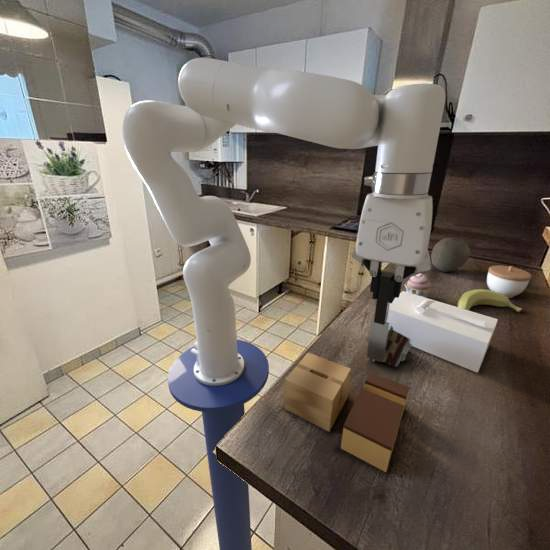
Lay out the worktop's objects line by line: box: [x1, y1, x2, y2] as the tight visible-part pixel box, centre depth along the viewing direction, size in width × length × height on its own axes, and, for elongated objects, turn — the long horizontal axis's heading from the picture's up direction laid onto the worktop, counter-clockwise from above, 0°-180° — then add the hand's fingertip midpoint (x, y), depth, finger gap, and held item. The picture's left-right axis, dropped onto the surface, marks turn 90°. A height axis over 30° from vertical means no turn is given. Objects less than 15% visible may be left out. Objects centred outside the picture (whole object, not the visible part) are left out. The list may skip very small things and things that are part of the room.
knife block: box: [284, 352, 352, 432], centre depth 60 cm, size 10×10×8 cm
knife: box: [366, 270, 395, 363], centre depth 51 cm, size 3×2×18 cm
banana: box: [457, 288, 523, 314], centre depth 98 cm, size 14×6×20 cm
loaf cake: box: [340, 387, 405, 473], centre depth 53 cm, size 8×10×6 cm
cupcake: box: [403, 272, 434, 298], centre depth 105 cm, size 9×9×10 cm
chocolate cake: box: [372, 324, 413, 368], centre depth 76 cm, size 10×7×12 cm
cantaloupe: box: [430, 236, 471, 273], centre depth 128 cm, size 14×14×15 cm
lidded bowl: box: [486, 265, 532, 299], centre depth 108 cm, size 13×13×11 cm
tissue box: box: [386, 290, 499, 374], centre depth 81 cm, size 14×25×11 cm, turn 47°
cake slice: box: [363, 371, 410, 419], centre depth 60 cm, size 8×3×6 cm, turn 57°
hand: (384, 297), depth 49 cm, fingers closed on knife, 1 cm apart
